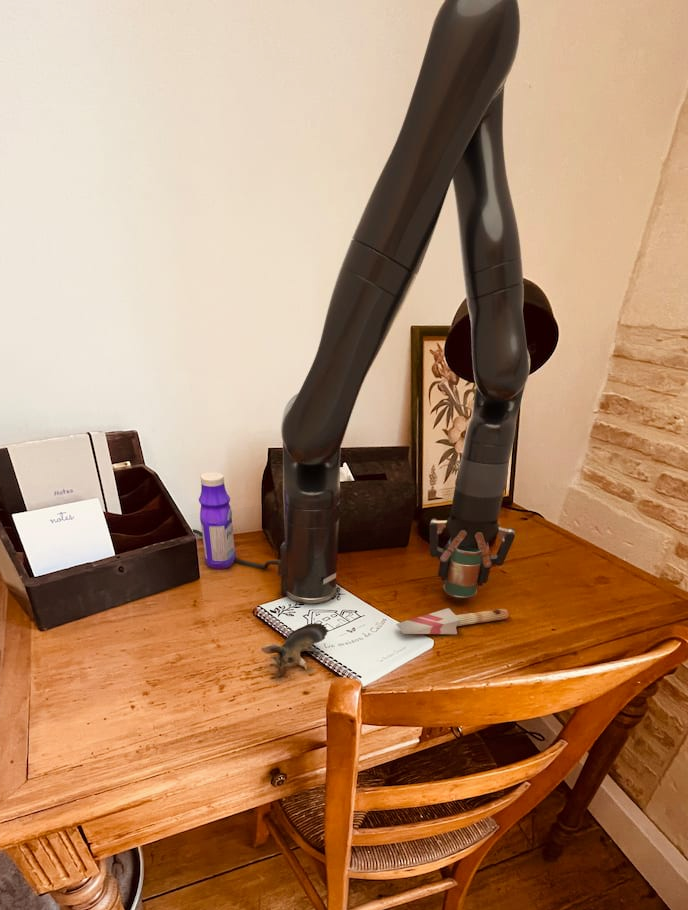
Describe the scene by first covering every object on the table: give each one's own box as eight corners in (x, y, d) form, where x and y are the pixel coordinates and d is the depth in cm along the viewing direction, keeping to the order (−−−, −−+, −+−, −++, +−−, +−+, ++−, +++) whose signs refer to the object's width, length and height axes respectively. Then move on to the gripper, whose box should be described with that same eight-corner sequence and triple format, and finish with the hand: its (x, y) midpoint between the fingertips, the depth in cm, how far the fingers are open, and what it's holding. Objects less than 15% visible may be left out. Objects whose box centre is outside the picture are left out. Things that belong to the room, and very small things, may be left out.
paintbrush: (395, 614, 84) (501, 601, 90) (393, 628, 86) (496, 615, 92) (405, 627, 81) (514, 613, 87) (403, 641, 83) (509, 627, 89)
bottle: (232, 572, 100) (224, 482, 90) (202, 571, 100) (191, 481, 90) (238, 554, 106) (231, 469, 96) (210, 553, 106) (200, 468, 96)
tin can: (441, 596, 91) (449, 549, 86) (444, 580, 96) (452, 535, 90) (475, 601, 90) (486, 554, 85) (477, 585, 94) (486, 539, 89)
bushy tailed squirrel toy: (312, 684, 73) (339, 641, 78) (283, 646, 70) (313, 605, 75) (276, 689, 78) (303, 648, 83) (247, 654, 75) (277, 614, 80)
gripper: (526, 483, 83) (503, 577, 93) (435, 474, 86) (422, 565, 96) (528, 500, 77) (503, 598, 87) (431, 489, 80) (417, 585, 90)
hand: (461, 580), depth 92 cm, fingers closed on tin can, 5 cm apart
